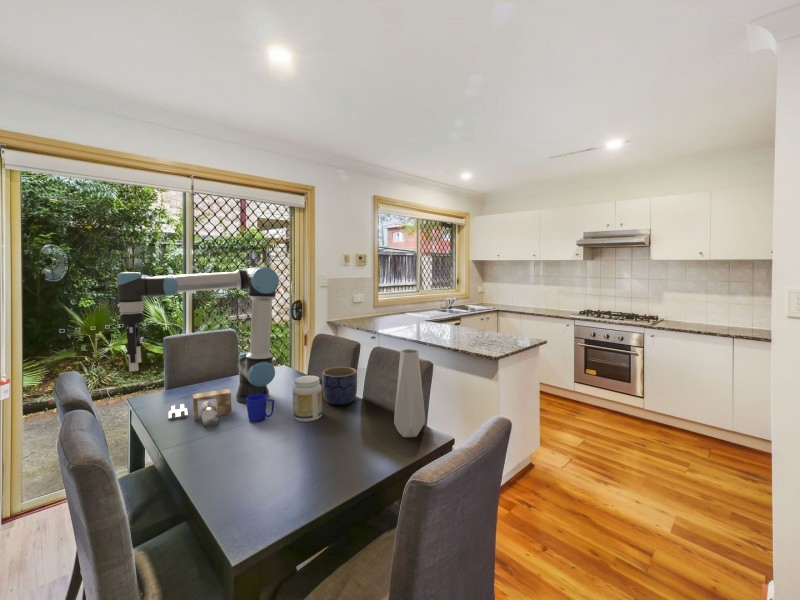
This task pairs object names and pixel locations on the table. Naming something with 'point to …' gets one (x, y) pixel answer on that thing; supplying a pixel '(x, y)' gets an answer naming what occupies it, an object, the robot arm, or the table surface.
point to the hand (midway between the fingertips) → (135, 366)
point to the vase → (409, 395)
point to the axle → (209, 414)
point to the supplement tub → (307, 398)
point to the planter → (339, 385)
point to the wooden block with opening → (221, 401)
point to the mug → (258, 407)
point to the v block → (178, 412)
